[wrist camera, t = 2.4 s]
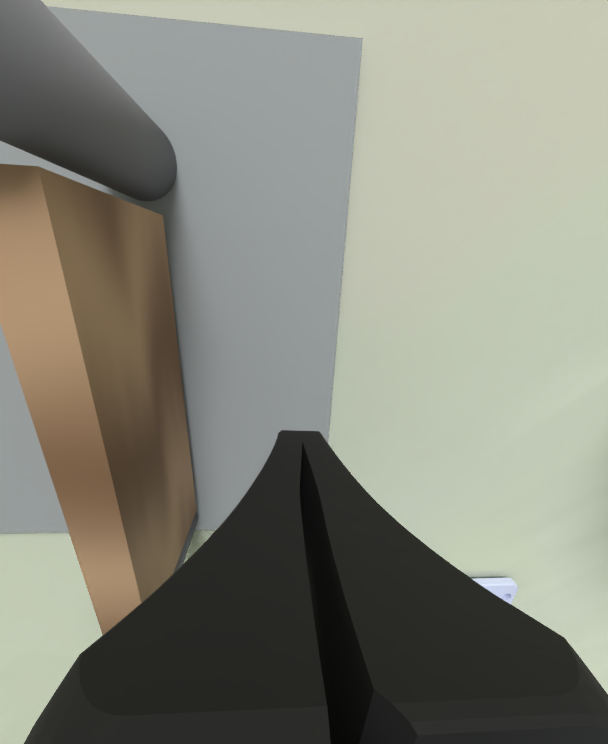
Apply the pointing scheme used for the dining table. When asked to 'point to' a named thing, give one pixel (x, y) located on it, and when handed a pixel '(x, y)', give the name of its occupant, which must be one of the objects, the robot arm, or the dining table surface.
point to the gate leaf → (99, 376)
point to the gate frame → (196, 217)
